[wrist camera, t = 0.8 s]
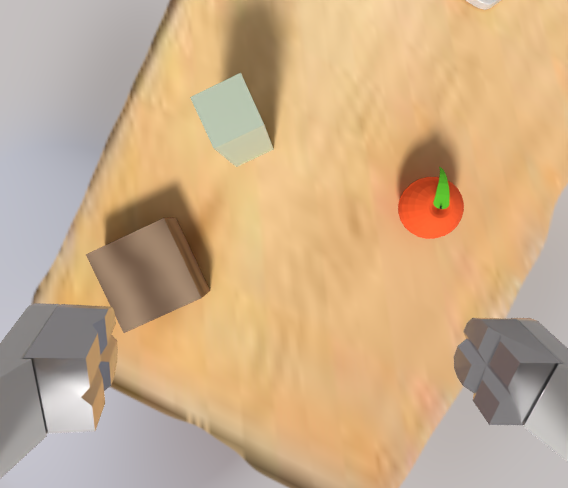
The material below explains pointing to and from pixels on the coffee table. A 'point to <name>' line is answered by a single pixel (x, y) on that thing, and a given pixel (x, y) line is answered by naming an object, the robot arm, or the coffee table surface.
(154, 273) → the walnut block
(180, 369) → the coffee table surface
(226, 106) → the sage block
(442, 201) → the red tomato
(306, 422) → the coffee table surface
